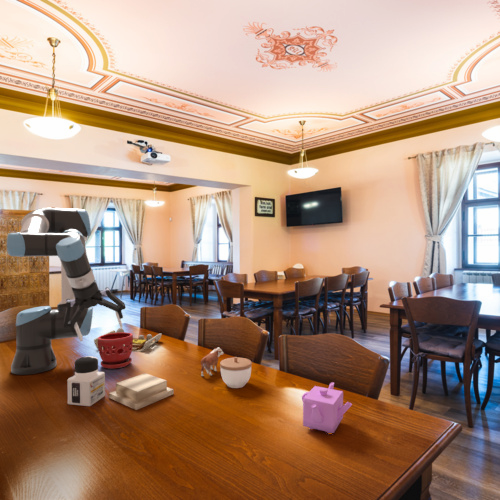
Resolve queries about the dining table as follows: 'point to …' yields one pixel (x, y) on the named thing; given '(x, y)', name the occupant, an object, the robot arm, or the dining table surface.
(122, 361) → the plant pot
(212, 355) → the bull figurine
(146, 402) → the plinth
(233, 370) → the lidded jar
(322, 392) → the teapot
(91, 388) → the container
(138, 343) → the toy food set
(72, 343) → the dining table surface
